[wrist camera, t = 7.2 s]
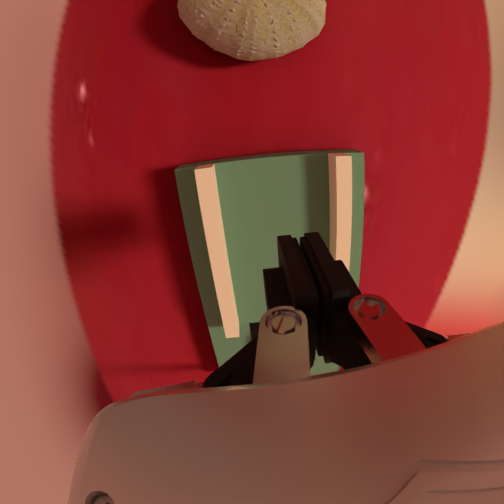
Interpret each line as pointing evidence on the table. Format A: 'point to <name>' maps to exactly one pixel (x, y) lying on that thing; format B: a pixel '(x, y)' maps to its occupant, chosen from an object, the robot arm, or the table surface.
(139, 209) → the table surface
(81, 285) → the table surface
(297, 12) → the sea urchin shell
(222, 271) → the mat
